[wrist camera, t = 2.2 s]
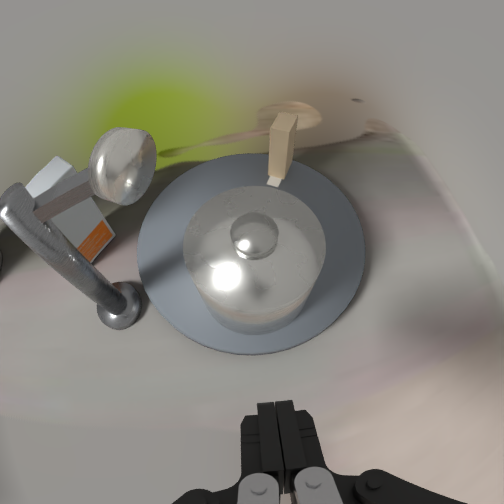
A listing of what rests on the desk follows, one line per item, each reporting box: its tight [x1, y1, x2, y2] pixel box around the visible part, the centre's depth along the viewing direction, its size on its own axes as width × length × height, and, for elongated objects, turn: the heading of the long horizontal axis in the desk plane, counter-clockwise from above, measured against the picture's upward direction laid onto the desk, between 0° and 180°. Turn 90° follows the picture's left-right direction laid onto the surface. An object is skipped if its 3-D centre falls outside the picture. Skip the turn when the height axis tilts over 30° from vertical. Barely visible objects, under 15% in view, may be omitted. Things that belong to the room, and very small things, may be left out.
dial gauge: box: [0, 127, 156, 330], centre depth 20 cm, size 8×10×18 cm
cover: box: [183, 186, 326, 335], centre depth 23 cm, size 10×10×8 cm
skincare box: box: [25, 156, 115, 263], centre depth 26 cm, size 6×4×12 cm
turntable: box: [137, 112, 365, 355], centre depth 27 cm, size 24×24×9 cm
